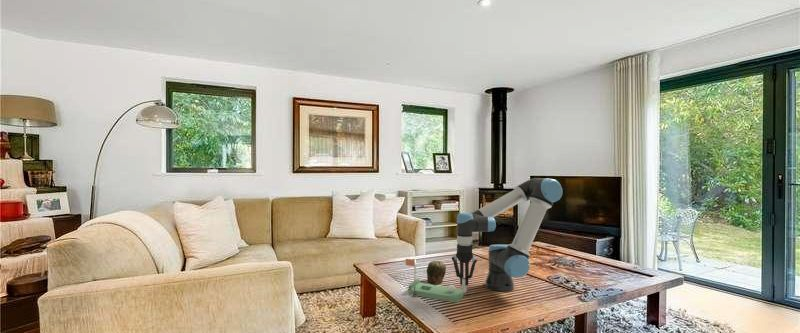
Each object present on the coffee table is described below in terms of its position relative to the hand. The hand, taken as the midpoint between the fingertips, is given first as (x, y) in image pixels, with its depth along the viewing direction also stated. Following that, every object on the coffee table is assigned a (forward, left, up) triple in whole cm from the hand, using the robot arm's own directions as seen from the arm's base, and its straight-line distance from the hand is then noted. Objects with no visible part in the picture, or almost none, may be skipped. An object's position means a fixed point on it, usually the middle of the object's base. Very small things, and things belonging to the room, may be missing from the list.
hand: (464, 291), depth 165 cm
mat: (+15, 0, -4) cm, 15 cm away
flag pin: (+26, +7, -4) cm, 27 cm away
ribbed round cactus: (+21, -18, -4) cm, 28 cm away
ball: (+7, 0, 0) cm, 7 cm away
